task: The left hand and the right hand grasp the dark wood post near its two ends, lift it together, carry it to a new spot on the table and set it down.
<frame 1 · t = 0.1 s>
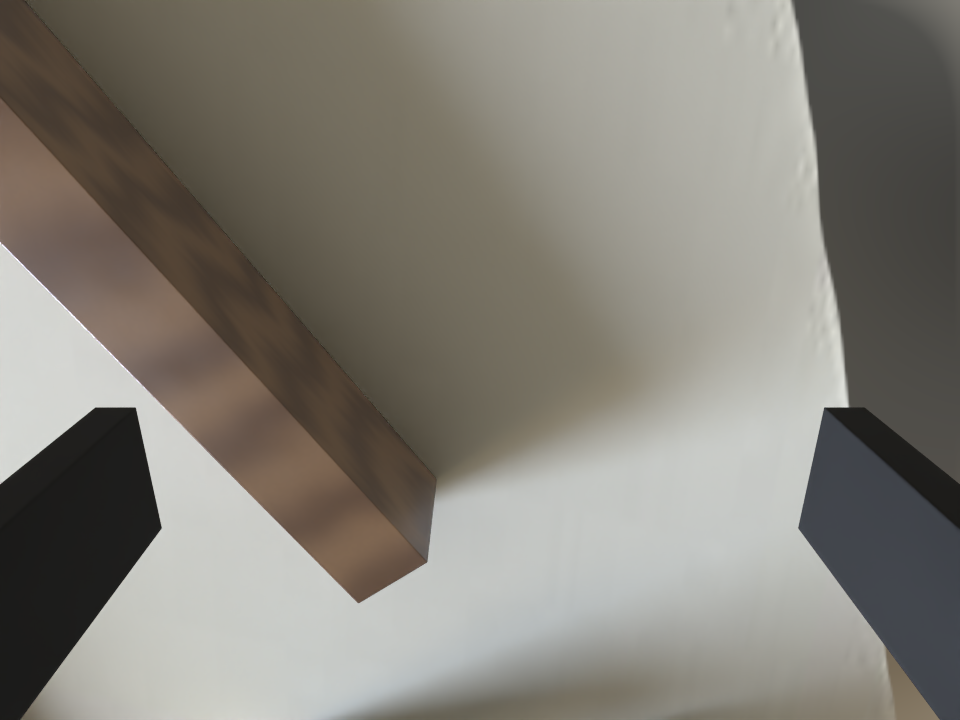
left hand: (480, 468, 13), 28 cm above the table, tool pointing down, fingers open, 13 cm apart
post: (0, 39, 35), on the table
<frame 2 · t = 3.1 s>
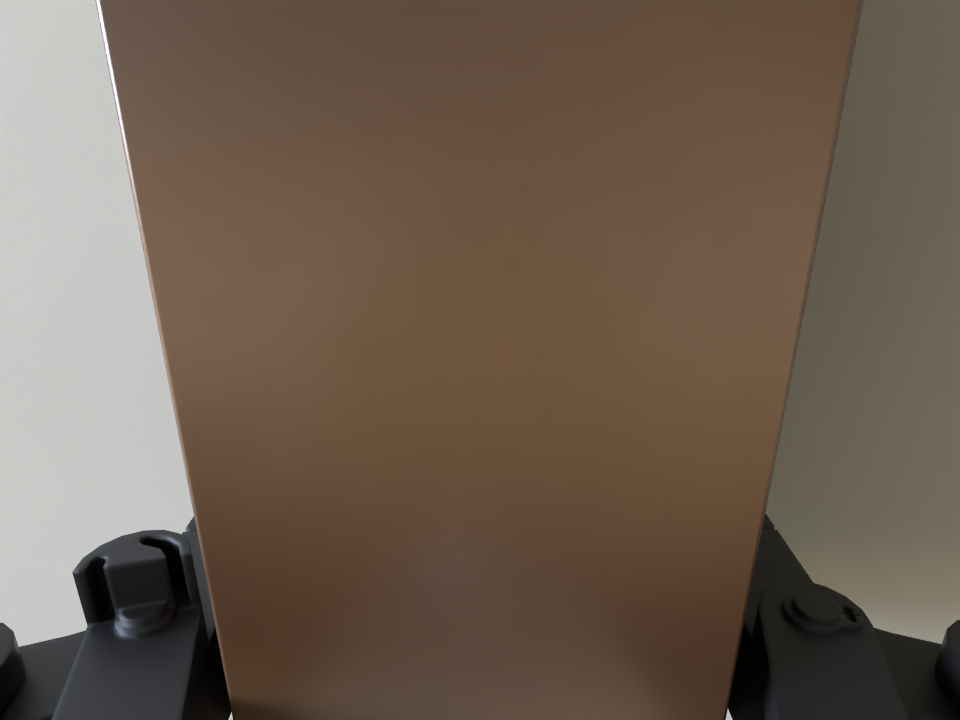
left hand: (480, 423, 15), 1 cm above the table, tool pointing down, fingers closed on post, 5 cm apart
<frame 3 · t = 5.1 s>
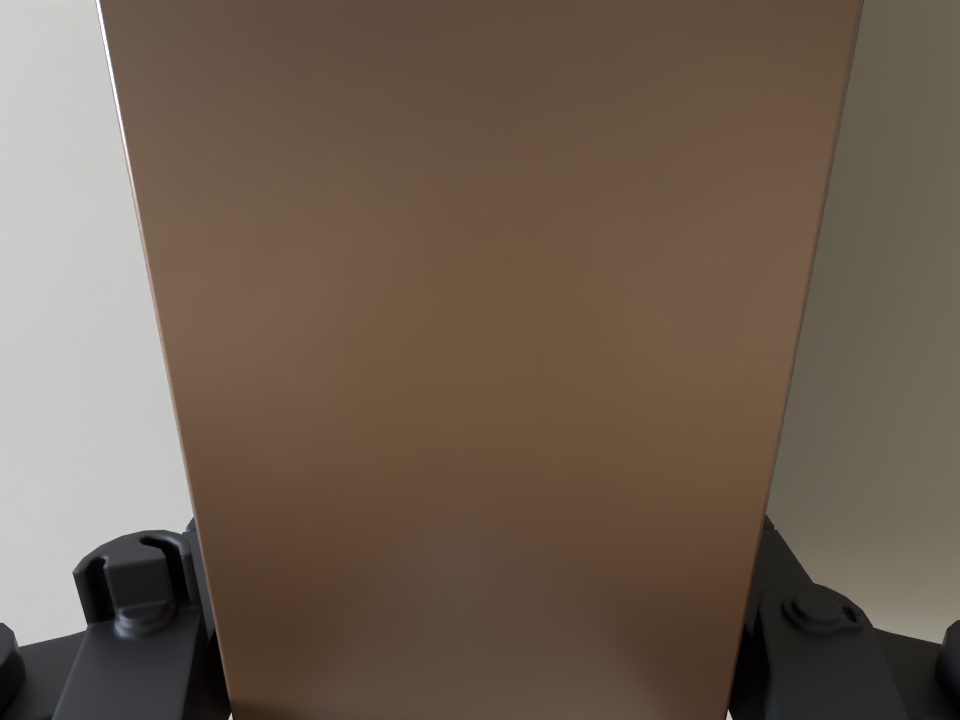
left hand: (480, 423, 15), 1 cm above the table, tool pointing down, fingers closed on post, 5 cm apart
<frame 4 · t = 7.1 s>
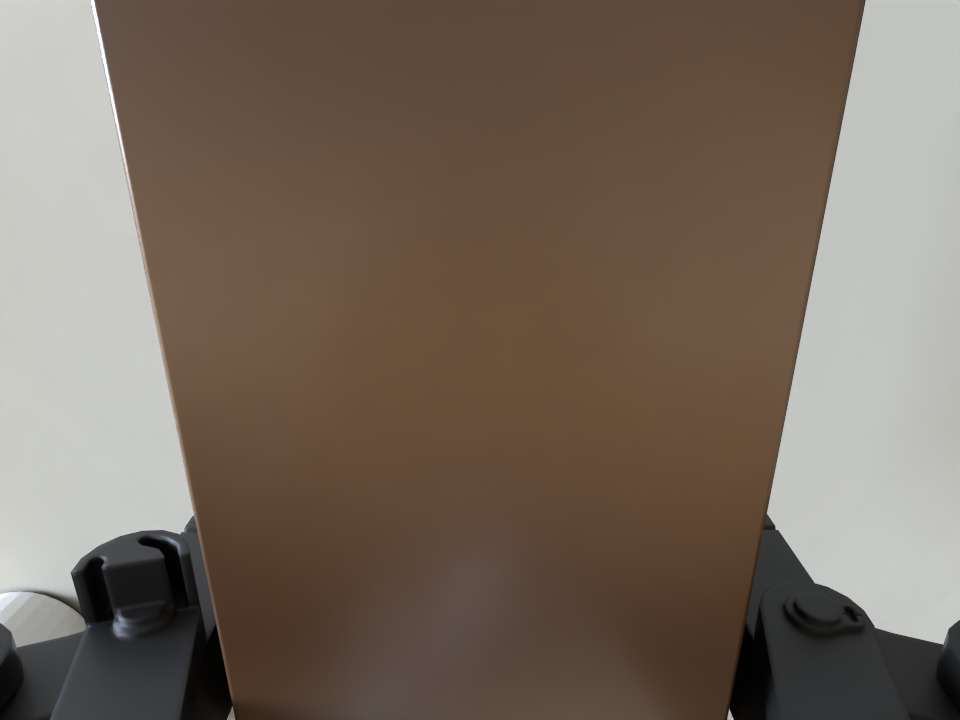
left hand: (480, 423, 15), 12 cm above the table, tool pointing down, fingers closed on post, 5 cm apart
coffee cup: (38, 636, 34), on the table
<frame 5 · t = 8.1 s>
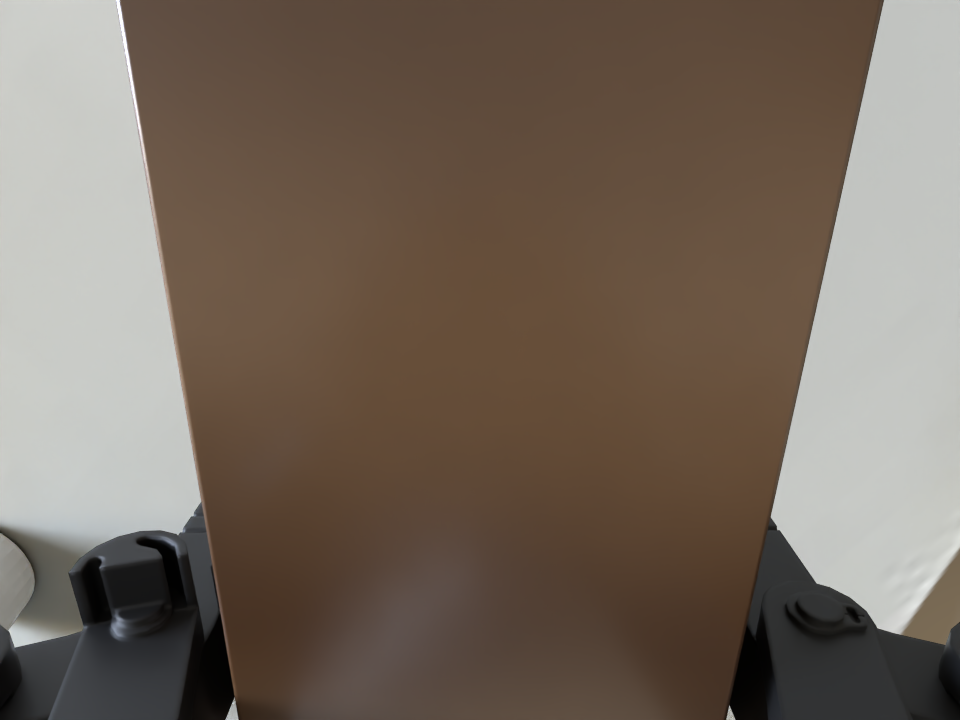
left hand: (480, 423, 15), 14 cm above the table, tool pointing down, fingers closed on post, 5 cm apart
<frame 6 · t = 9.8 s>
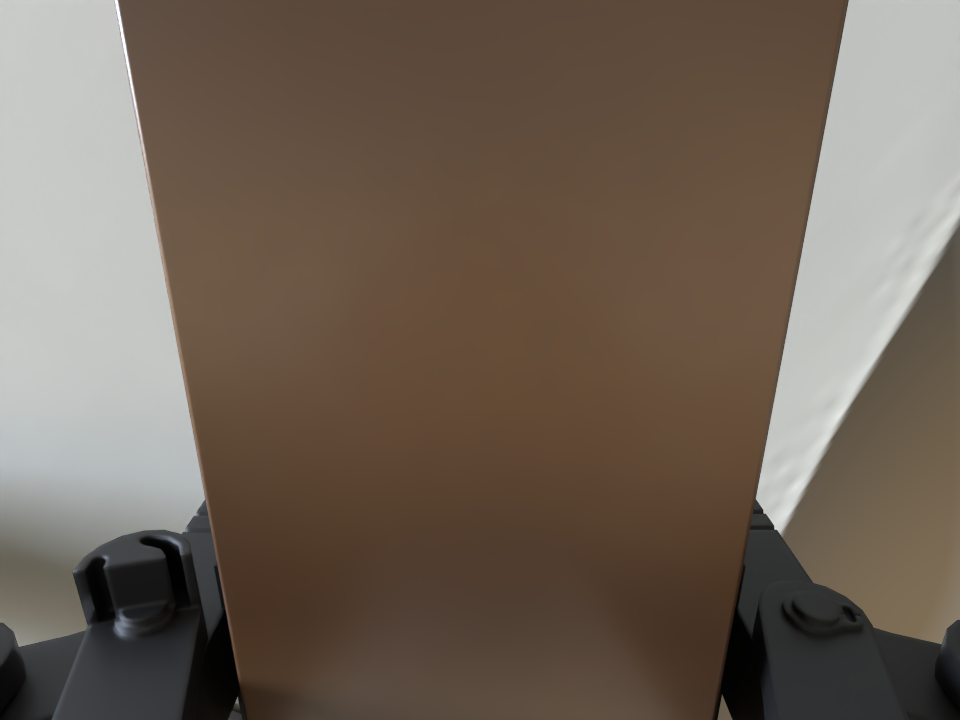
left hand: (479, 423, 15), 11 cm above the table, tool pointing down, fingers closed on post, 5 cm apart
when the left hand's fingers open (2 cm above the table, at t = 11.1 s): post drops 1 cm, on the table.
when the right hand's fingers open (5 cm above the table, at t = 11.2 s): post stays where it is, on the table.
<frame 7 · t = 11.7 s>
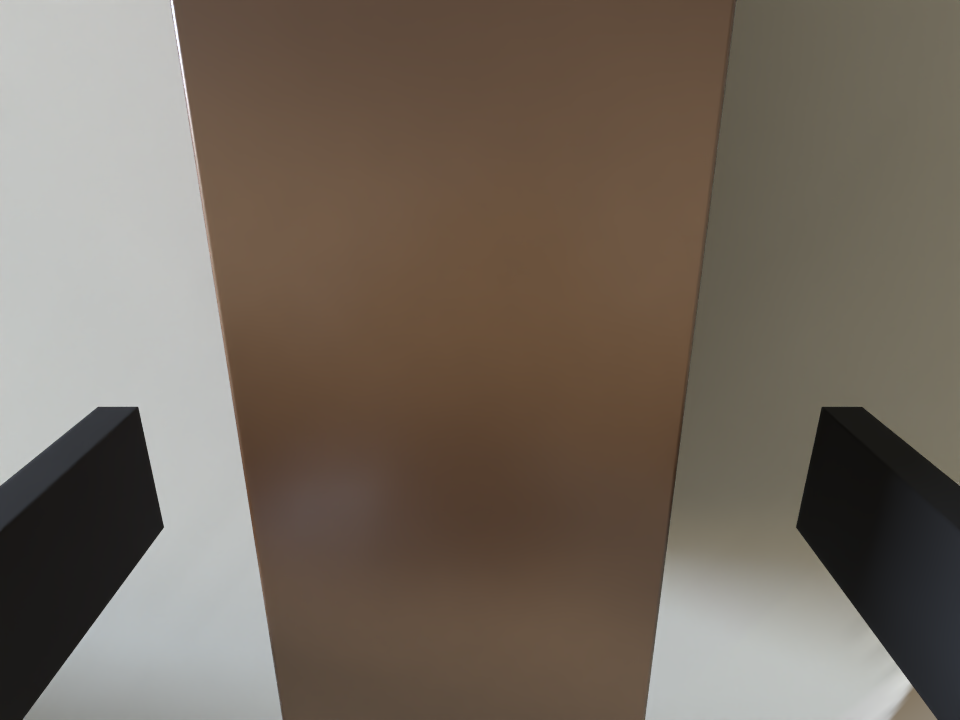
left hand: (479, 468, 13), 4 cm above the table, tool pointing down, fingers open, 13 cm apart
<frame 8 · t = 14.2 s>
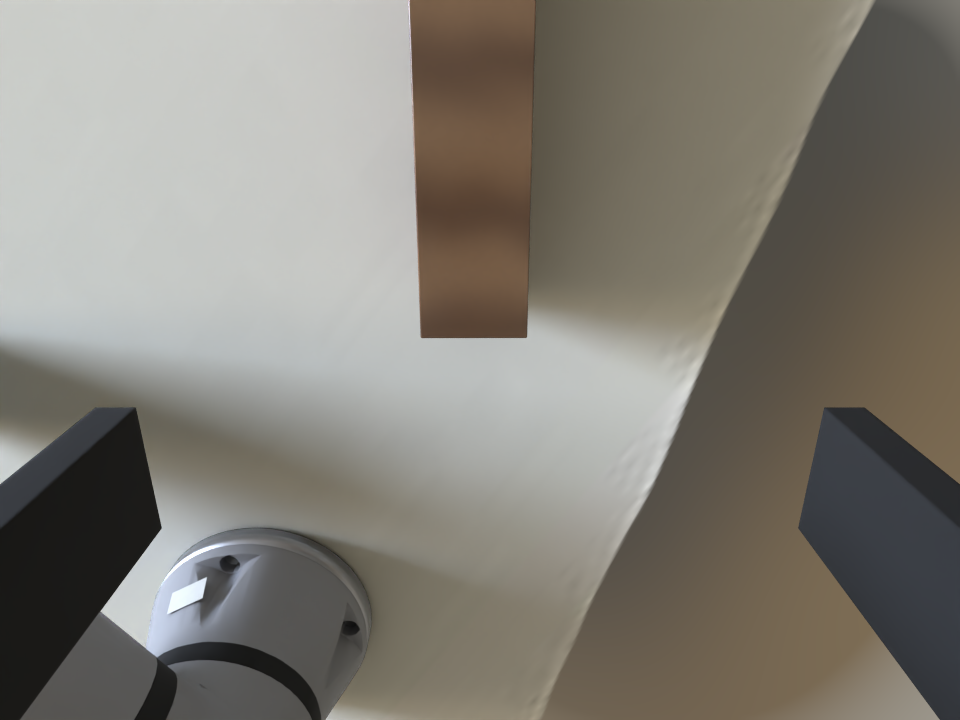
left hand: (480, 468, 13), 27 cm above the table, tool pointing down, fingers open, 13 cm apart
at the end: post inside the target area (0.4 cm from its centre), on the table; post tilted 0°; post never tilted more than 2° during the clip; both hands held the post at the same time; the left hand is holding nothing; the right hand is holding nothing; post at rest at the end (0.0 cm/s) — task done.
